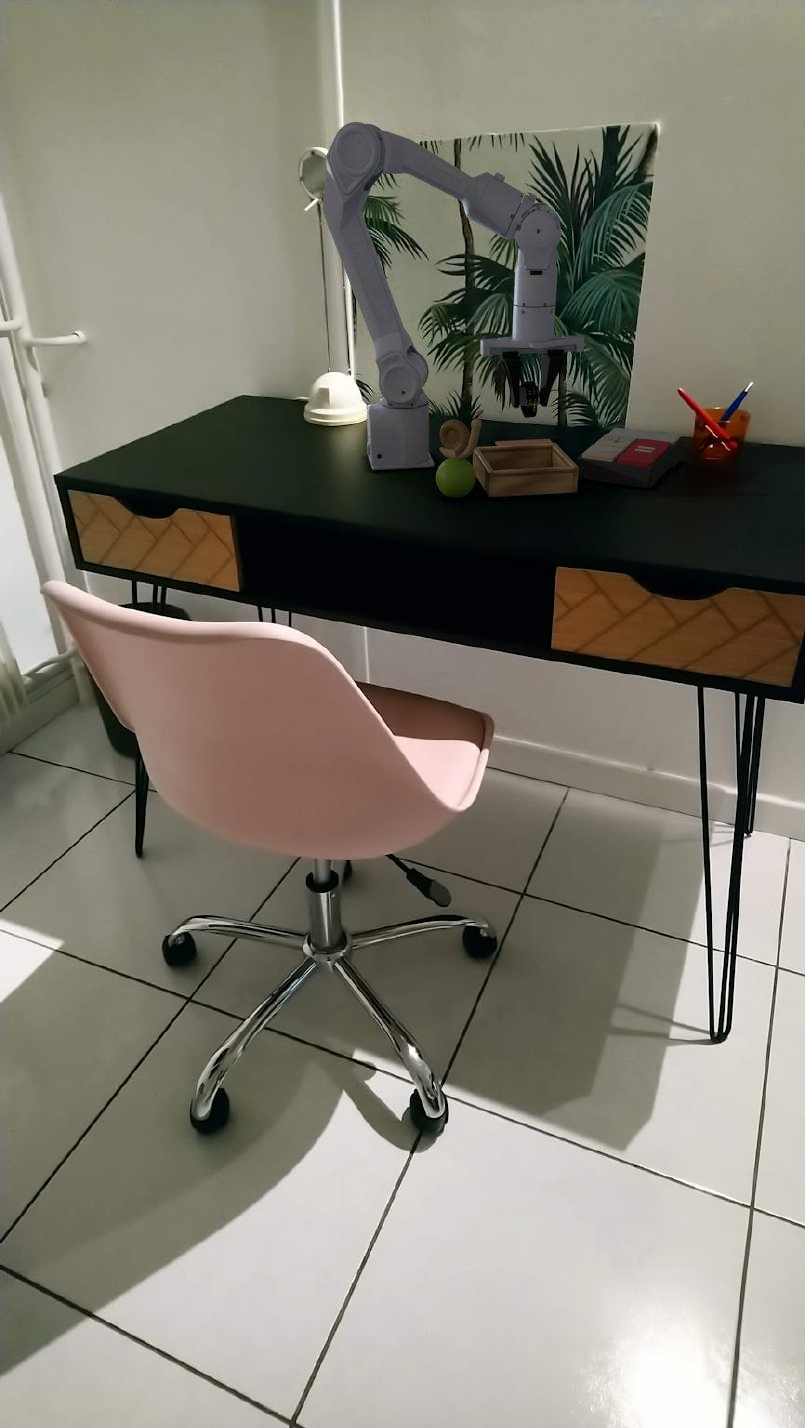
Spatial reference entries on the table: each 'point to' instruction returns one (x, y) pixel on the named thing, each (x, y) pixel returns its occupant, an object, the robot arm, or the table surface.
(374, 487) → the table surface
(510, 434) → the table surface
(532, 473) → the wooden box
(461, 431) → the snail figurine
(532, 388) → the smartwatch
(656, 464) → the grey and red box
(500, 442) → the coaster
